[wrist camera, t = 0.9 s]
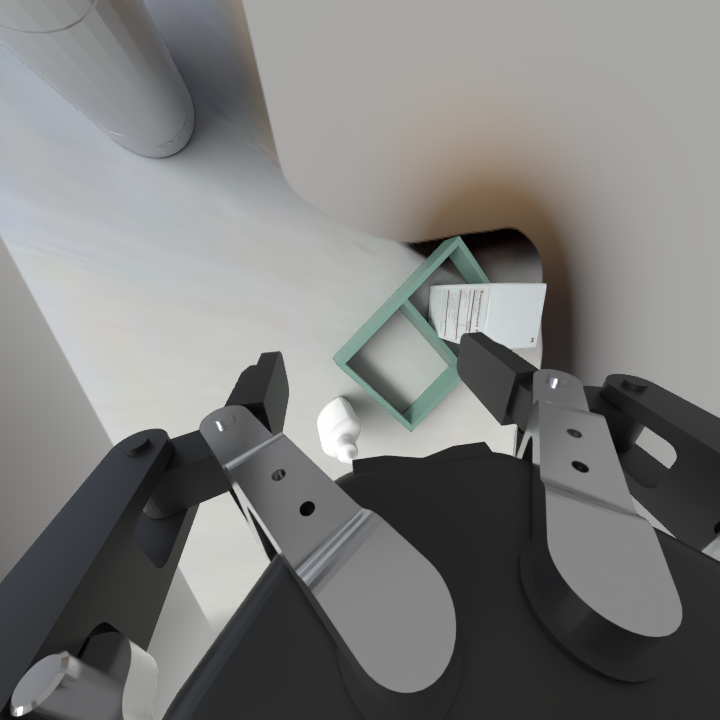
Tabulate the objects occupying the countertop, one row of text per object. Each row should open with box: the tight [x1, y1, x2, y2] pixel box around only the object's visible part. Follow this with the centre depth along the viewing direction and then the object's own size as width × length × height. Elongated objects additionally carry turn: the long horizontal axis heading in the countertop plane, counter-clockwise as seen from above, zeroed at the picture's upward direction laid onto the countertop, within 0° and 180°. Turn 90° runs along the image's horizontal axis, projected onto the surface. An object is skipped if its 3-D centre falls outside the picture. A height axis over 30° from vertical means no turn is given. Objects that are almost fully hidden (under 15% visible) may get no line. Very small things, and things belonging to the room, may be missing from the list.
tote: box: [333, 236, 490, 432], centre depth 39 cm, size 16×23×4 cm
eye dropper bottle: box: [317, 397, 361, 464], centre depth 34 cm, size 4×6×12 cm
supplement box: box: [428, 283, 546, 350], centre depth 34 cm, size 7×7×13 cm
